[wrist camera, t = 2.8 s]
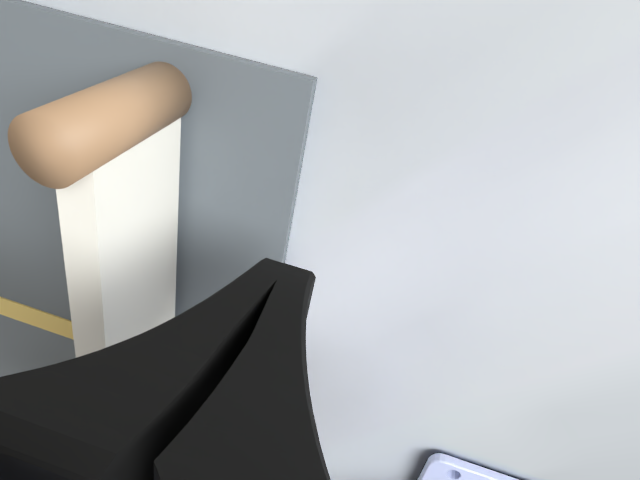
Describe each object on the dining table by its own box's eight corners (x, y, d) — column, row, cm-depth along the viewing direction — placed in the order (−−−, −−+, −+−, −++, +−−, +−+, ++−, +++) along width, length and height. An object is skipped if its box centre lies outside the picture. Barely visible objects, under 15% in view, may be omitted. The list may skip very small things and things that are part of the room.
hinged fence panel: (180, 352, 19) (105, 459, 15) (142, 339, 20) (58, 442, 16) (193, 69, 14) (75, 124, 10) (138, 55, 14) (1, 103, 10)
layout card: (317, 77, 14) (312, 81, 13) (236, 531, 27) (233, 540, 26) (-180, -53, 16) (-196, -52, 15) (-28, 431, 29) (-35, 437, 28)
